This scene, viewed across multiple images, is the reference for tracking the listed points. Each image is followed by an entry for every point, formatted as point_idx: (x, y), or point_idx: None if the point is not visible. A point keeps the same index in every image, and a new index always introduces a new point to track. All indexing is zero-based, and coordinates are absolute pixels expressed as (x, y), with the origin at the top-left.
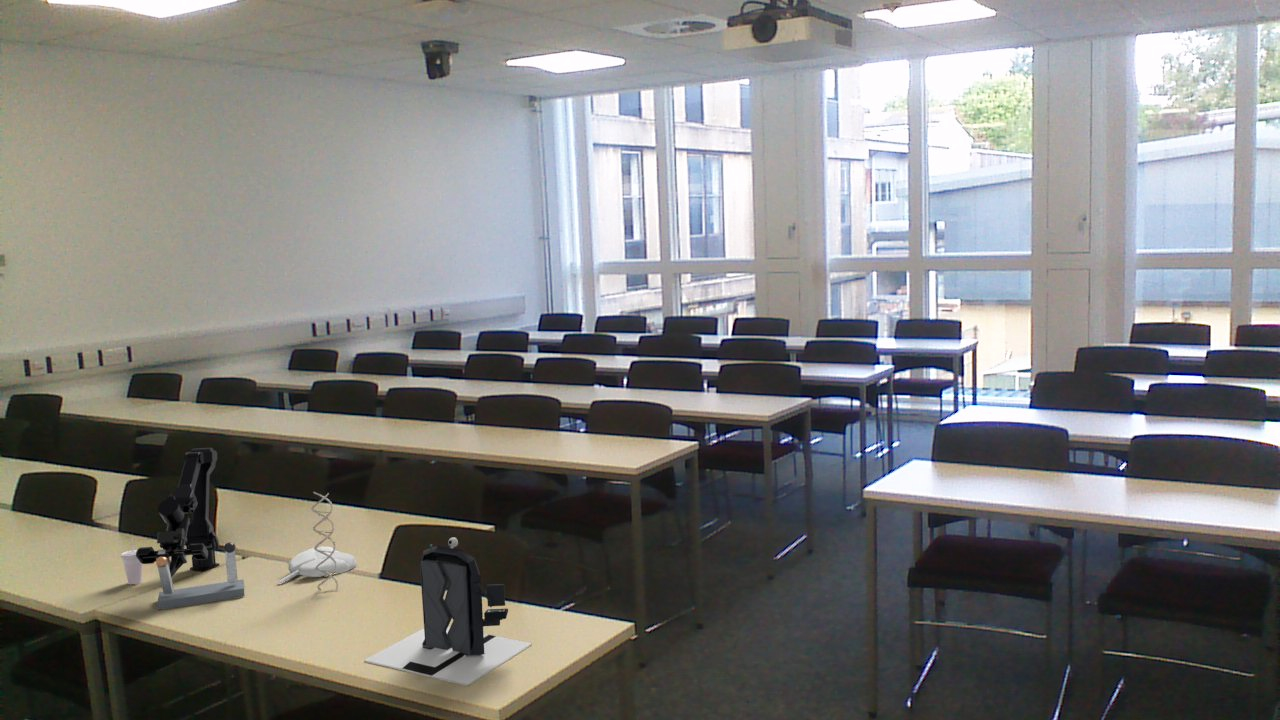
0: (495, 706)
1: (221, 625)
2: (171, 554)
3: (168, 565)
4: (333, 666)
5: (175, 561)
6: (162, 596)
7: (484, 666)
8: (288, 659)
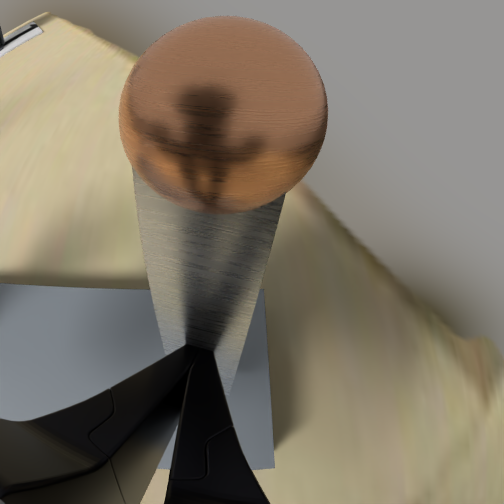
0: (44, 13)
1: (90, 101)
2: (9, 478)
3: (140, 216)
4: (64, 25)
5: (45, 425)
6: (245, 374)
7: (9, 35)
8: (82, 29)
